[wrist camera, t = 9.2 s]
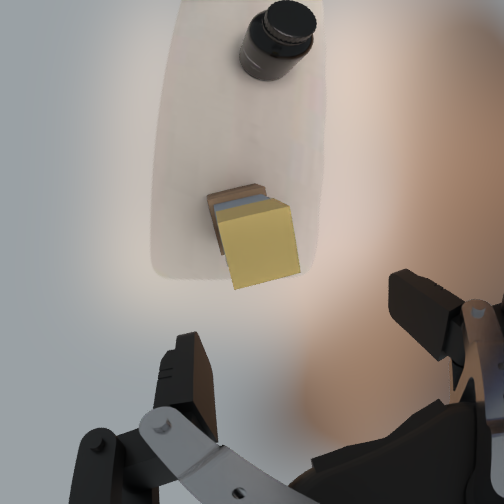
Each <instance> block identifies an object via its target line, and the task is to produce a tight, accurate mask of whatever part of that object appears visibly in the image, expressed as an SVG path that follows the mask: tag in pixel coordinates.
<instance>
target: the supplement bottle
mask: <svg viewBox="0 0 504 504" xmlns="http://www.w3.org/2000/svg"><path fill="white" fill-rule="evenodd" d="M316 25H317V23H316V19H315V16H314V15H313V12H311V10H310V9H308V8H307V7H306V6H304V5H303V4H301V3H299V2H295V1H290V0H282V1H278V2H275V3H274V4H271V6H270V7H268V9H267V10H265V11H262V12H260V13H259V14H257V15H256V16H255V17H254V18H253V19H252V21H251V22H250V24H249V27H248V29H247V32H246V35H245V38H244V41H243V43H242V46H241V49H240V54H239V58H240V62H241V65H242V67H243V68H244V70H245V71H246V72H247V73H248V74H250V75H251V76H253V77H255V78H258V79H261V80H275V79H279V78H281V77H283V76H284V75H285V74H287V73H288V72H289V71H290V70H291V69H292V68H293V67H294V66H295V65H296V64H297V63H298V62H299V61H300V60H301V59H302V58H303V57H304V56H305V55H306V54H307V53H308V52H309V51H310V49H311V48H312V45H313V40H314V38H313V33H314V32H315V29H316Z"/></svg>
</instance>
